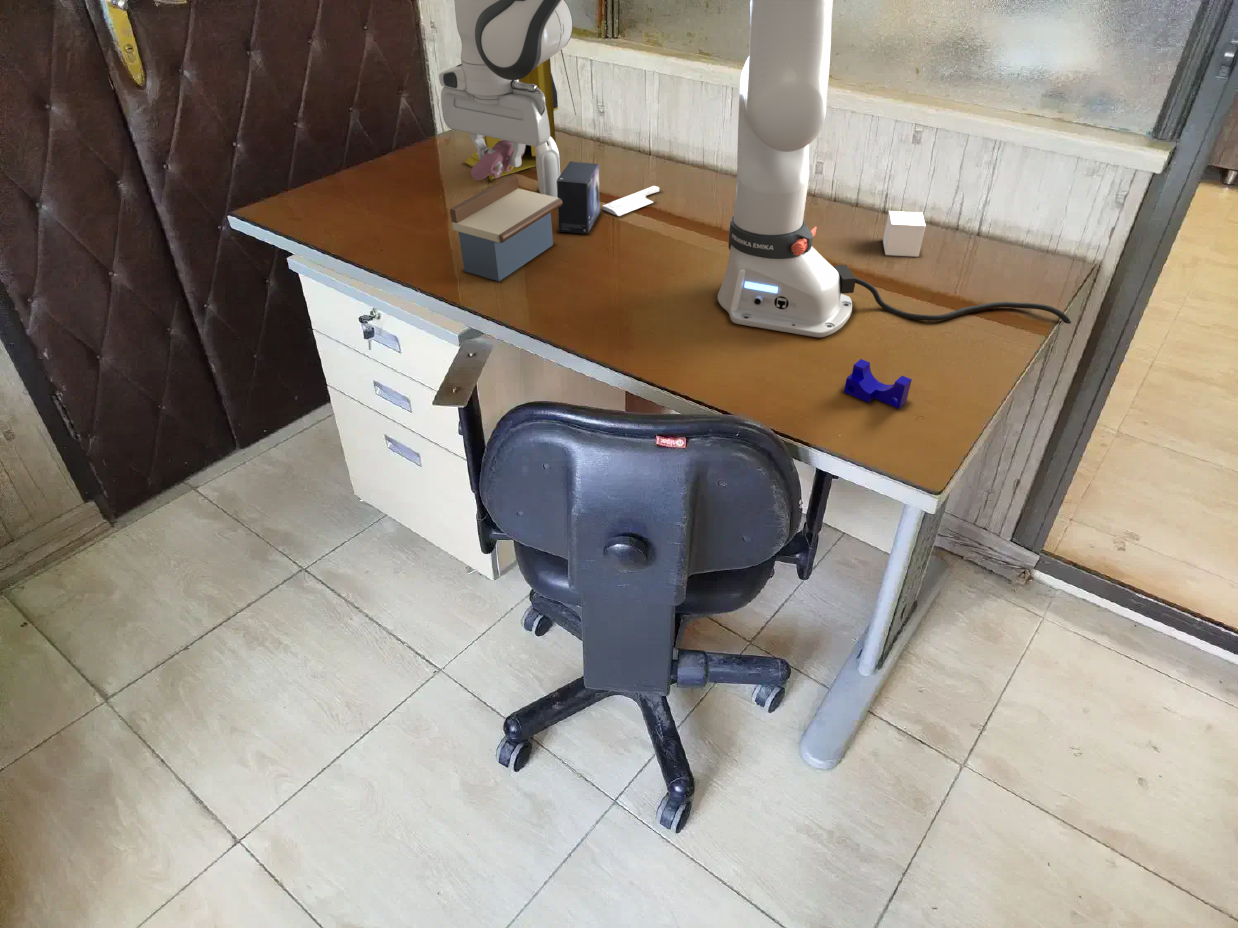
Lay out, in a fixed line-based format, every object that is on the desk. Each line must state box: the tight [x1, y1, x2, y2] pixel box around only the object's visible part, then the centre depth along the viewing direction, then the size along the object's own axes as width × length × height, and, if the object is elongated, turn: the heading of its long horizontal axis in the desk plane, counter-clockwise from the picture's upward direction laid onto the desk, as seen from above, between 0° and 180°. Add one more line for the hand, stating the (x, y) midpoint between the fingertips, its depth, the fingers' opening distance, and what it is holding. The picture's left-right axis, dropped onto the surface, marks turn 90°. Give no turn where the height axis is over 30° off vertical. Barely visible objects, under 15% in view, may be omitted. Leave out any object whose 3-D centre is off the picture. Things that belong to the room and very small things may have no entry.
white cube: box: [882, 210, 927, 258], centre depth 154 cm, size 6×6×6 cm
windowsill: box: [449, 174, 563, 282], centre depth 151 cm, size 11×18×12 cm, turn 149°
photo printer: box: [535, 137, 561, 197], centre depth 173 cm, size 10×4×12 cm, turn 13°
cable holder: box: [843, 358, 913, 410], centre depth 118 cm, size 8×4×4 cm, turn 48°
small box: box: [557, 160, 601, 235], centre depth 163 cm, size 11×6×10 cm, turn 168°
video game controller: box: [470, 140, 526, 181], centre depth 142 cm, size 10×5×7 cm, turn 148°
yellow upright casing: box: [463, 49, 577, 183], centre depth 183 cm, size 31×14×30 cm, turn 130°
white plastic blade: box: [601, 185, 660, 217], centre depth 173 cm, size 5×15×1 cm, turn 132°
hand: (499, 162), depth 143 cm, fingers closed on video game controller, 5 cm apart
